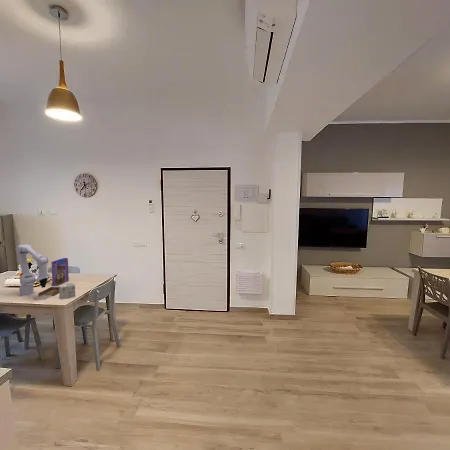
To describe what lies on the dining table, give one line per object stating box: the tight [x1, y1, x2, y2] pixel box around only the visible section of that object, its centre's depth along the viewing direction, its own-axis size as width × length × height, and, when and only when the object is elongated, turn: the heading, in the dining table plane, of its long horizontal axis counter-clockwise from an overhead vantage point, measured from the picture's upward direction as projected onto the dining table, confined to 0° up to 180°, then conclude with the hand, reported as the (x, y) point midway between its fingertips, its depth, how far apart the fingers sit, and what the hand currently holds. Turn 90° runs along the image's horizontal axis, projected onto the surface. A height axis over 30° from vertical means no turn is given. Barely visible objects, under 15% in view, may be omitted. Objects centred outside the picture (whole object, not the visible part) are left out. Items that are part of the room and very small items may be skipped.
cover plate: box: [33, 295, 52, 301], centre depth 221 cm, size 9×8×2 cm
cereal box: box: [51, 257, 70, 287], centre depth 261 cm, size 17×5×24 cm, turn 178°
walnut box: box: [38, 286, 59, 297], centre depth 233 cm, size 13×17×3 cm
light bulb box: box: [58, 282, 76, 300], centre depth 224 cm, size 11×7×11 cm, turn 141°
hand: (43, 287), depth 221 cm, fingers closed
